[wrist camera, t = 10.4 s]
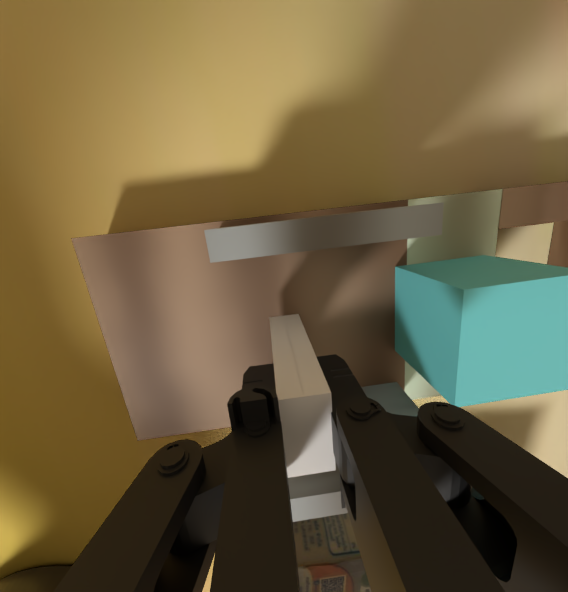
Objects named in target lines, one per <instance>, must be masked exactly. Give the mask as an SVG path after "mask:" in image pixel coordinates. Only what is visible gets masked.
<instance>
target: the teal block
mask: <svg viewBox="0 0 568 592" xmlns="http://www.w3.org/2000/svg"><path fill="white" fill-rule="evenodd" d="M395 351H396V352H397V353H398V354H399V355H400V356H401V357H402V358H403V359H404V360H405V361H406V362H407V363H408V364H409V365H410V366H412V367H413V368H414V369H415V370H416V371H417V372H418V373H419V374H420V375H421V376H422V377H423V378H424V379H425V380H426V381H427V382H428V383H429V384H430V385H431V386H432V387H433V388H434V389H435V390H437V391H438V392H439V393H440V394H441V395H442V396H443V397H444V398H445V399H446V400H447V401H448V402H449V403H450V404H451V405H455V406H457V407H462V406H469V405H475V404H481V403H487V402H494V401H500V400H506V399H512V398H519V397H525V396H531V395H537V394H544V393H550V392H556V391H562V390H568V268H567V267H560V266H554V265H547V264H540V263H534V262H527V261H520V260H514V259H507V258H500V257H494V256H487V255H480V256H473V257H465V258H457V259H450V260H442V261H434V262H427V263H419V264H411V265H404V266H396V267H395Z"/></svg>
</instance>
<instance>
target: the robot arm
mask: <svg viewBox="0 0 568 592" xmlns="http://www.w3.org/2000/svg"><path fill="white" fill-rule="evenodd" d="M269 319H270V330H271V341H272V352H273V363H272V364H265V365H257V366H250V367H249V368H248V369H247V370H246V372H245V373H244V374H243V382H242V383H243V384H242V389H241V390H239V391H237V392H236V393H235V394H234V395H232V396H231V397H230V399H229V401H228V403H227V407H228V412H229V418H230V423H231V428H232V432H231V433H230V434H229V435H228V436H226V437H225V438H224V439H222V440H220V441H218V442H216V443H214V444H212V445H209V446H207V447H205V448H202V449H201V446H200V445H199V444H198V443H197V442H196V441H192V440H188V439H187V440H178V441H175V442H173V443H170V444H168V445H166V446H164V447H163V448H161V449H160V450H158V451H157V452H156V453H155V454H154V455H153V456H152V457H151V458H150V459H149V461H148V462H147V463H146V465H145V466H144V468H143V469H142V470H141V472H140V473H139V474H138V476H137V477H136V479H135V480H134V481H133V483H132V484H131V485H130V487H129V488H128V490H127V491H126V492H125V494H124V495H123V496H122V498H121V499H120V501H119V502H118V503H117V505H116V506H115V507H114V509H113V510H112V512H111V513H110V514H109V516H108V517H107V518H106V520H105V521H104V523H103V524H102V525H101V527H100V528H99V529H98V531H97V532H96V534H95V535H94V536H93V538H92V539H91V540H90V542H89V543H88V545H87V546H86V547H85V549H84V550H83V551H82V553H81V554H80V556H79V557H78V558H77V560H76V561H75V562H74V564H73V565H72V566H48V567H39V568H33V569H28V570H24V571H21V572H18V573H15V574H12V575H9V576H7V577H5V578H3V579H1V580H0V592H202V590H203V587H204V584H205V581H206V578H207V575H208V572H209V569H210V566H211V563H212V560H213V557H214V554H215V558H214V566H213V573H212V581H211V588H210V592H300V583H299V574H298V565H297V556H296V547H295V538H294V528H293V519H292V510H291V501H290V493H289V484H288V478H290V477H296V476H303V475H309V474H315V473H322V472H328V471H334V470H336V465H335V460H336V463H337V466H338V469H339V472H340V491H341V505H342V508H347V511H348V514H349V518H350V521H351V524H352V528H353V531H354V534H355V538H356V541H357V545H358V548H359V551H360V555H361V558H362V561H363V565H364V568H365V571H366V575H367V578H368V581H369V585H370V588H371V591H372V592H568V478H566V477H565V476H563V475H562V474H560V473H559V472H557V471H556V470H554V469H553V468H551V467H550V466H548V465H547V464H545V463H544V462H542V461H541V460H539V459H538V458H536V457H535V456H533V455H532V454H530V453H529V452H527V451H526V450H524V449H523V448H521V447H520V446H518V445H517V444H515V443H514V442H512V441H511V440H509V439H508V438H506V437H505V436H503V435H502V434H500V433H499V432H497V431H496V430H494V429H493V428H491V427H489V426H488V425H486V424H485V423H483V422H482V421H480V420H479V419H477V418H476V417H474V416H473V415H471V414H470V413H468V412H467V411H465V410H463V409H461V408H459V407H457V406H455V405H451V404H448V403H443V402H430V403H425V404H424V405H422V406H421V407H420V408H419V411H418V415H417V416H407V415H398V414H392V413H389V412H386V411H385V409H384V408H383V407H382V406H381V405H380V404H379V403H378V402H377V401H375V400H373V399H371V398H368V397H367V396H366V394H365V393H364V391H363V389H362V388H361V386H360V384H359V383H358V381H357V379H356V378H355V376H354V375H353V373H352V371H351V370H350V369H349V366H348V365H347V363H346V362H345V360H344V359H342V358H341V357H339V356H338V355H336V354H333V355H326V356H318V357H316V355H315V352H314V350H313V348H312V345H311V343H310V340H309V338H308V336H307V333H306V331H305V328H304V326H303V324H302V321H301V319H300V316H299V314H293V315H285V316H277V317H269ZM345 504H346V505H345Z"/></svg>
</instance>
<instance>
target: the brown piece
mask: <svg viewBox="0 0 568 592" xmlns="http://www.w3.org/2000/svg"><path fill="white" fill-rule="evenodd" d="M552 222H554V228H553V234H552V240H551V246H550V252H549V258H548V264H547V265H554V266H560V267H567V268H568V181H566V182H557V183H549V184H540V185H531V186H523V187H514V188H505V189H497V190H488V191H479V192H471V193H462V194H453V195H445V196H436V197H427V198H419V199H410V200H401V201H392V202H384V203H375V204H366V205H358V206H349V207H340V208H331V209H323V210H314V211H305V212H297V213H288V214H279V215H271V216H262V217H253V218H245V219H236V220H227V221H219V222H210V223H201V224H192V225H184V226H175V227H166V228H158V229H149V230H140V231H132V232H123V233H114V234H106V235H97V236H88V237H79V238H71V239H72V242H73V245H74V248H75V251H76V254H77V257H78V260H79V264H80V267H81V270H82V273H83V276H84V279H85V282H86V285H87V288H88V291H89V294H90V297H91V300H92V303H93V306H94V309H95V312H96V315H97V318H98V321H99V324H100V327H101V330H102V333H103V336H104V339H105V343H106V346H107V349H108V352H109V355H110V358H111V361H112V364H113V367H114V370H115V373H116V376H117V379H118V382H119V385H120V388H121V391H122V394H123V397H124V400H125V403H126V406H127V409H128V412H129V415H130V418H131V422H132V425H133V428H134V431H135V434H136V437H137V440H145V439H152V438H159V437H166V436H173V435H179V434H186V433H193V432H200V431H207V430H213V429H220V428H227V427H231V423H230V418H229V412H228V407H227V403H228V401H229V399H230V397H231V396H232V395H234V394H235V393H236V392H237V391H239V390H241V389H242V384H243V383H242V382H243V374H244V373H245V372H246V370H247V369H248V368H249V367H250V366H257V365H265V364H272V363H273V352H272V341H271V330H270V319H269V317H277V316H285V315H293V314H299V316H300V319H301V321H302V324H303V326H304V328H305V331H306V333H307V336H308V338H309V340H310V343H311V345H312V348H313V350H314V352H315V355H316V357H318V356H326V355H333V354H336V355H338V356H339V357H341V358H342V359H344V360H345V362H346V363H347V365H348V366H349V369H350V370H351V371H352V373H353V375H354V376H355V378H356V379H357V381H358V383H359V384H360V386H361V388H362V389H363V391H364V393H365V394H366V396H367V397H368V398H371V399H373V400H375V401H377V402H378V403H379V404H380V405H381V406H382V407H383V408H384V409H385V411H386V412H389V413H392V414H398V415H407V416H417V415H418V411H419V408H418V407H417V406H416V405H415V403H414V402H413V401H412V400H414V399H421V398H427V397H434V396H441V394H440V393H439V392H438V391H437V390H435V389H434V388H433V387H432V386H431V385H430V384H429V383H428V382H427V381H426V380H425V379H424V378H423V377H422V376H421V375H420V374H419V373H418V372H417V371H416V370H415V369H414V368H413V367H412V366H410V365H409V364H408V363H407V362H406V361H405V360H404V359H403V358H402V357H401V356H400V355H399V354H398V353H397V352H396V351H395V267H396V266H404V265H411V264H419V263H427V262H434V261H442V260H450V259H457V258H465V257H473V256H480V255H487V256H494V257H495V253H496V244H497V235H498V229H503V228H511V227H519V226H527V225H536V224H544V223H552ZM335 465H336V470H334V471H328V472H322V473H315V474H309V475H303V476H296V477H290V478H288V484H289V493H290V501H291V510H292V519H293V522H296V521H302V520H308V519H314V518H320V517H327V516H333V515H339V514H345V513H348V511H347V508H342V505H341V491H340V472H339V469H338V466H337V463H336V460H335ZM345 505H346V504H345Z"/></svg>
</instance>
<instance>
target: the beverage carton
mask: <svg viewBox="0 0 568 592" xmlns="http://www.w3.org/2000/svg"><path fill="white" fill-rule="evenodd" d="M293 528H294V538H295V547H296V556H297V565H298V574H299V583H300V592H372V591H371V588H370V585H369V581H368V578H367V575H366V571H365V568H364V565H363V561H362V558H361V555H360V551H359V548H358V545H357V541H356V538H355V534H354V531H353V528H352V524H351V521H350V518H349V514H348V513H345V514H339V515H333V516H327V517H320V518H314V519H308V520H302V521H296V522H293Z"/></svg>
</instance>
